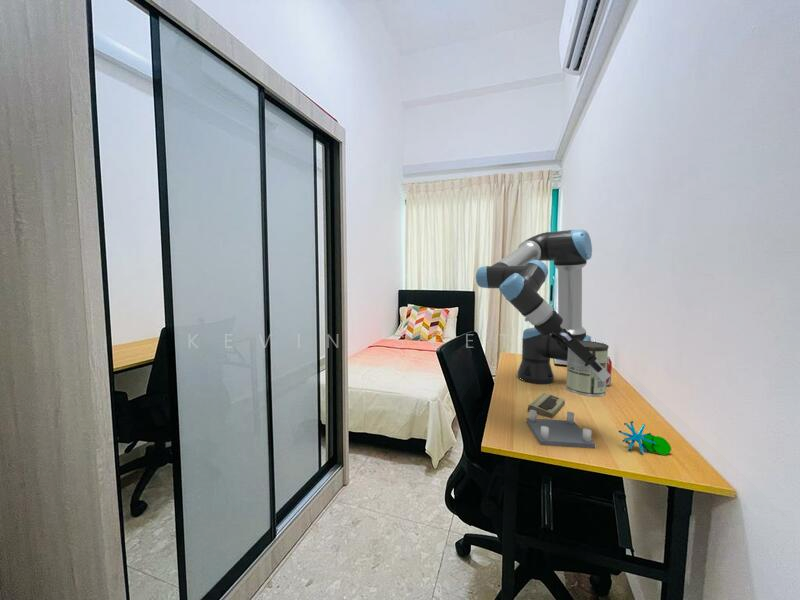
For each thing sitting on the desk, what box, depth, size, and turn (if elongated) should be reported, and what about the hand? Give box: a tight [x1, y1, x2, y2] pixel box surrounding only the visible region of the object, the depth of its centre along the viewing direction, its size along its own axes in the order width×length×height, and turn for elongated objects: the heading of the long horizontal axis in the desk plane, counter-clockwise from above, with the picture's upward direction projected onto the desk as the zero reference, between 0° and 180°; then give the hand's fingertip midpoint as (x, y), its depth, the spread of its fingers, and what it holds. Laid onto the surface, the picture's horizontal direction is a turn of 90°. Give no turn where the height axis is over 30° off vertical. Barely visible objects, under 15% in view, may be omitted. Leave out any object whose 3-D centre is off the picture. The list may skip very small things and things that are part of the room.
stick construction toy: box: [617, 420, 672, 456], centre depth 86 cm, size 12×7×8 cm
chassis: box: [525, 410, 596, 449], centre depth 93 cm, size 14×14×4 cm
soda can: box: [606, 355, 613, 387], centre depth 137 cm, size 7×7×12 cm
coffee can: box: [565, 340, 610, 398], centre depth 94 cm, size 10×10×14 cm
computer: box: [526, 392, 566, 419], centre depth 112 cm, size 16×8×3 cm, turn 139°
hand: (596, 372), depth 94 cm, fingers closed on coffee can, 10 cm apart
